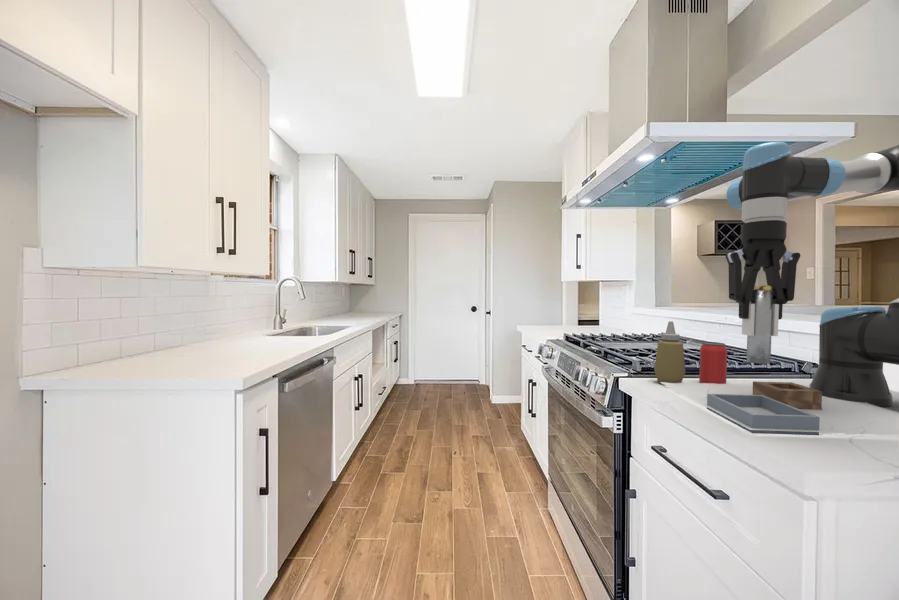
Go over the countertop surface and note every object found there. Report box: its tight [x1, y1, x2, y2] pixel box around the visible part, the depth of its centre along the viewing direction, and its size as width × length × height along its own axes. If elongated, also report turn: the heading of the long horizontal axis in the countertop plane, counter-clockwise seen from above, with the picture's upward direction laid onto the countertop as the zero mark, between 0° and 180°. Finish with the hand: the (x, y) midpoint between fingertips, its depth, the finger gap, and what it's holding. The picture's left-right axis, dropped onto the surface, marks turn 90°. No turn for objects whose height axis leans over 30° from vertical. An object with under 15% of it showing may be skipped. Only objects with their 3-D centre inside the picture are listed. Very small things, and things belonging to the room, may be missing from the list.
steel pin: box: [746, 285, 773, 365], centre depth 87 cm, size 4×6×16 cm
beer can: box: [698, 341, 728, 385], centre depth 120 cm, size 7×7×12 cm
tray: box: [706, 393, 821, 436], centre depth 87 cm, size 12×16×4 cm
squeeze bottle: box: [653, 321, 686, 384], centre depth 121 cm, size 8×8×18 cm
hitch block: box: [751, 381, 823, 411], centre depth 97 cm, size 9×9×5 cm
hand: (759, 334), depth 87 cm, fingers closed on steel pin, 4 cm apart
